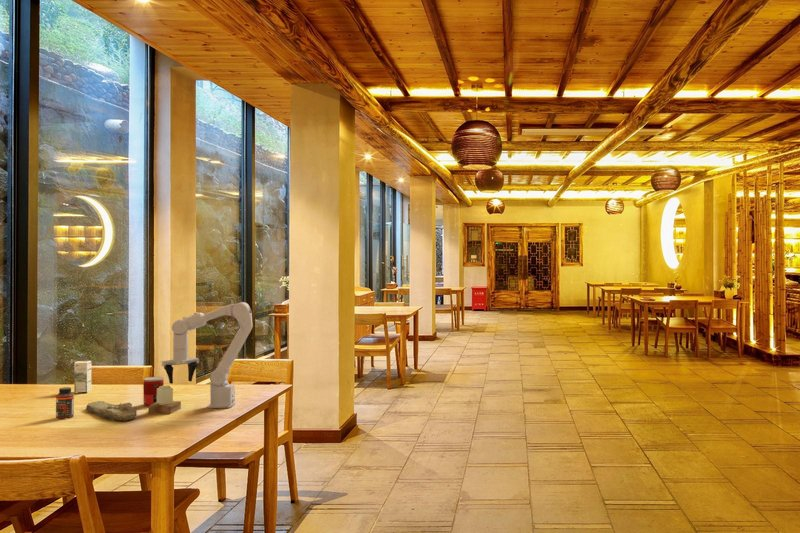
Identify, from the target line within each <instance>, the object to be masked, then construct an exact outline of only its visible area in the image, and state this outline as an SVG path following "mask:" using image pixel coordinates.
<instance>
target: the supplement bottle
mask: <svg viewBox="0 0 800 533" xmlns="http://www.w3.org/2000/svg"><path fill="white" fill-rule="evenodd" d="M74 395H75V393H73V392H72V387H68V386H67V387H60V388H59V390H58V393H57V394H56V396H55V418H56V419H57V418H58V420H66V419H65V418H68V419H71V418H73V417H74V413H75V412H74V409H75V408H74V405H75V404H74V402H75V400H74V399H75V396H74Z"/></svg>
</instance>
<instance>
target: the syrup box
mask: <svg viewBox="0 0 800 533" xmlns="http://www.w3.org/2000/svg"><path fill="white" fill-rule="evenodd" d="M73 364H74V367H73V368H74V371H73V373H74V379H73V380H74V387H73V388H74V389H73V390H74V391H73V392H88V391H90V390H91V391H92V360H77V361H75V362H73ZM91 391H90V392H91ZM88 393H89V392H88Z"/></svg>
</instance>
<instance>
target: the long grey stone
mask: <svg viewBox="0 0 800 533" xmlns="http://www.w3.org/2000/svg"><path fill="white" fill-rule="evenodd" d="M85 409H86V410H87V411H88V412H90V413H92V414H93V413H94V414H95V415H96V416H97V417H103V418H105V419H108V420H111V421H131V420H135V419H136V417H137V414H138V412H137V410H136V408H135V407H133V404H132V403H131V402H125V403H119V404H113V403H109V402H107V401H104V400H102V401H101V400H98V401H97V400H96V401H93V402H92V401H91V402H90V403H88V404H86V407H85Z"/></svg>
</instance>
